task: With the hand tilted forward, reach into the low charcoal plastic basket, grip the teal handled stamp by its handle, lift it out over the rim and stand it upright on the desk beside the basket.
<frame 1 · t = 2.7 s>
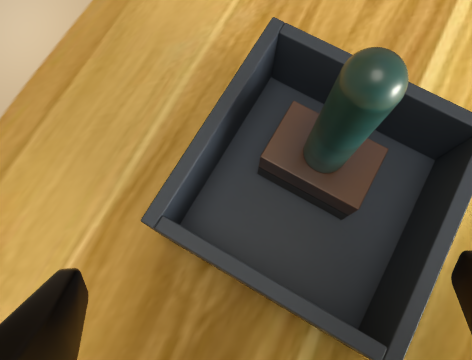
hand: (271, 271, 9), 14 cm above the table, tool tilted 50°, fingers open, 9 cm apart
basket: (307, 195, 24), on the table
teal handled stamp: (313, 170, 24), resting on basket
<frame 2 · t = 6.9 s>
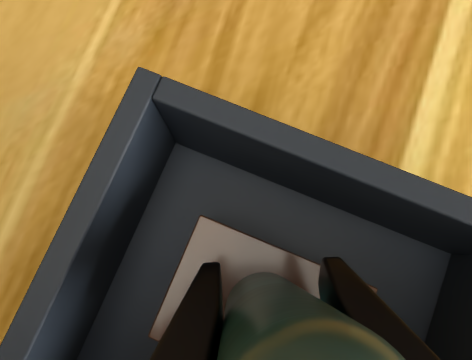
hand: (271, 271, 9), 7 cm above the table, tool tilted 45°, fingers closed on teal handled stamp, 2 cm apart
basket: (254, 338, 15), on the table
teal handled stamp: (257, 298, 15), resting on basket, touching gripper
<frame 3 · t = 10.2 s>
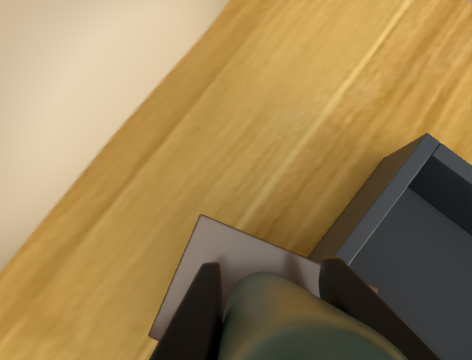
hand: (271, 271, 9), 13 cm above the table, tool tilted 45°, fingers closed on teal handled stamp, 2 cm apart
basket: (411, 319, 22), on the table
teal handled stamp: (257, 297, 15), point 7 cm above the table, touching gripper
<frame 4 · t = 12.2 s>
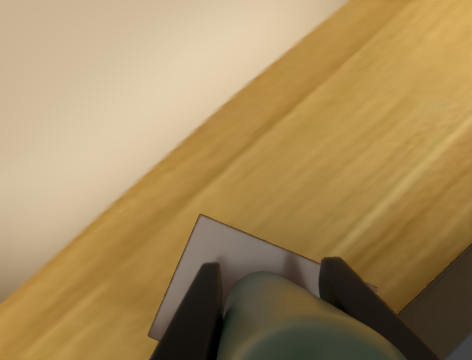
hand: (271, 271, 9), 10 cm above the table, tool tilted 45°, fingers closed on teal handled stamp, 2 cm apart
teal handled stamp: (257, 297, 15), point 4 cm above the table, touching gripper
when the fingers open (6 cm above the table, at t = 13.6 s): teal handled stamp stays where it is, on the table.
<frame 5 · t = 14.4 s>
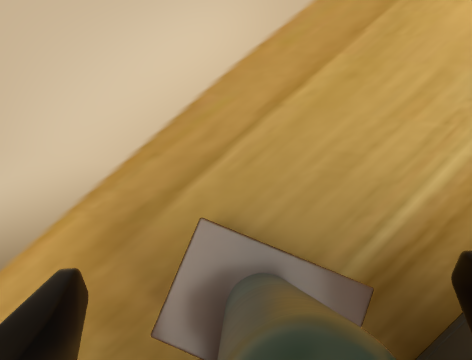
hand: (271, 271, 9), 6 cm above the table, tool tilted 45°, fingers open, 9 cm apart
teal handled stamp: (257, 298, 15), on the table
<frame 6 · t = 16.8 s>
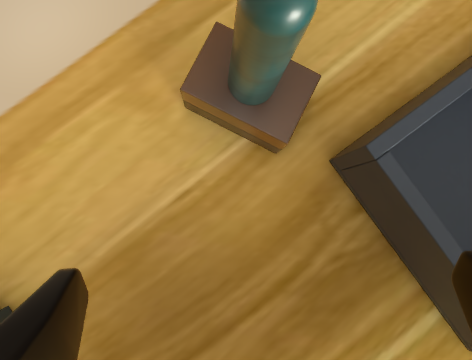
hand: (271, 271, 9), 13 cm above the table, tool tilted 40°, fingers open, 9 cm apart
teal handled stamp: (245, 101, 22), on the table
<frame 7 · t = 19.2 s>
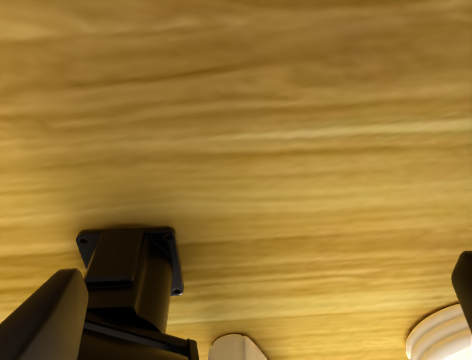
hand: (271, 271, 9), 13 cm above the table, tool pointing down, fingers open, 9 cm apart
white thick round disc: (459, 331, 34), on the table
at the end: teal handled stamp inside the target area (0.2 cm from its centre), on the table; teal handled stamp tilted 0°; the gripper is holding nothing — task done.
